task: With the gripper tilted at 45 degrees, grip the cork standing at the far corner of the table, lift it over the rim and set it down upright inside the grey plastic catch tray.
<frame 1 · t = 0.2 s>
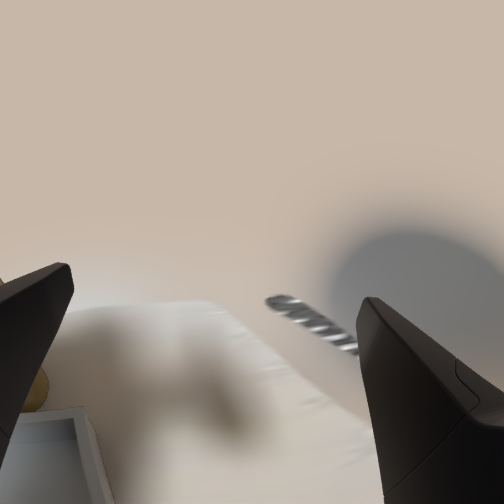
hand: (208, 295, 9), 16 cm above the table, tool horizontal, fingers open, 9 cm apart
cork: (19, 389, 20), on the table
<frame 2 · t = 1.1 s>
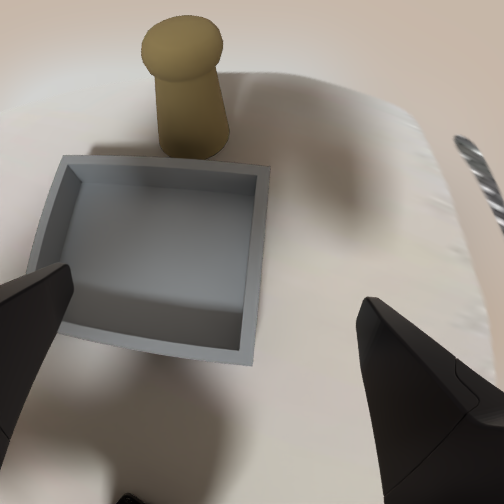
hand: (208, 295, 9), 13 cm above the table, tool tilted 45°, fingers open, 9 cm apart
cork: (193, 134, 26), on the table
catch tray: (148, 259, 22), on the table
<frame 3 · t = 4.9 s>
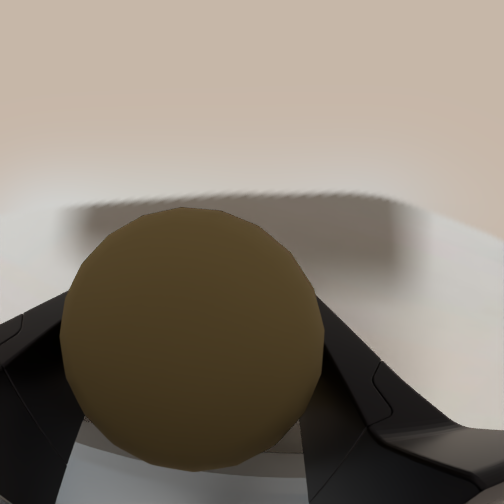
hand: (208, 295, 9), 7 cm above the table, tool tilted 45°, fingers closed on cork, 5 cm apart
cork: (217, 347, 15), on the table, touching gripper
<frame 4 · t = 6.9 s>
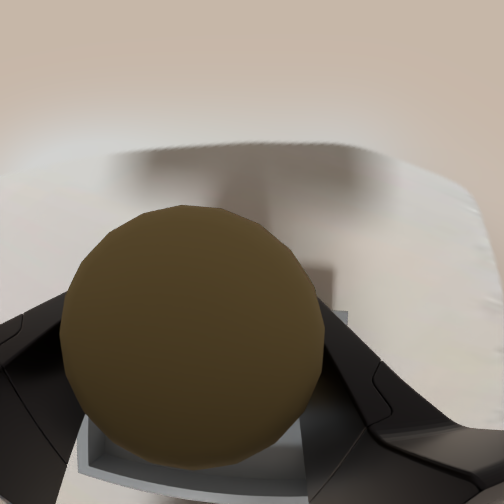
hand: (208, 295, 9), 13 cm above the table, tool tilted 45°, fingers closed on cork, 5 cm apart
cork: (217, 346, 15), point 6 cm above the table, touching gripper
catch tray: (208, 398, 20), on the table
when the fingers open (8 cm above the table, at t = 9.2 s): cork drops 1 cm, resting on catch tray.
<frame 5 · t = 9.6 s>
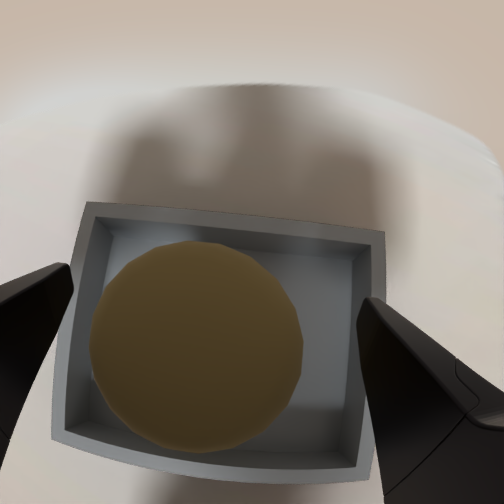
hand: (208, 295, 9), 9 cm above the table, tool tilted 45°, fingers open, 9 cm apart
cork: (217, 349, 17), resting on catch tray
catch tray: (219, 348, 17), on the table
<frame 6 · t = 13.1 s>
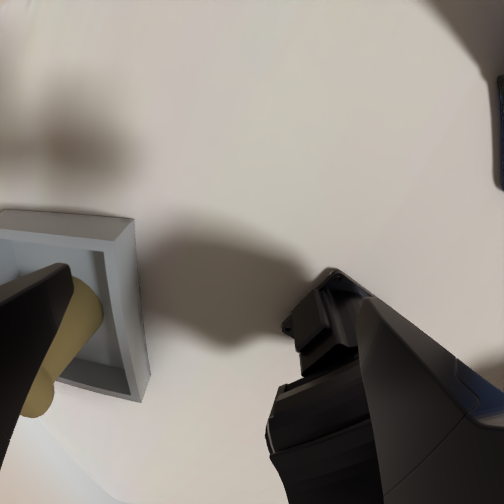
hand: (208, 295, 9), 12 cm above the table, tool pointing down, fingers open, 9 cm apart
cork: (73, 303, 24), resting on catch tray
catch tray: (74, 299, 25), on the table
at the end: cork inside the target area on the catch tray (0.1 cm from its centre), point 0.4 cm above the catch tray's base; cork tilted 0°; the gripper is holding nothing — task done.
